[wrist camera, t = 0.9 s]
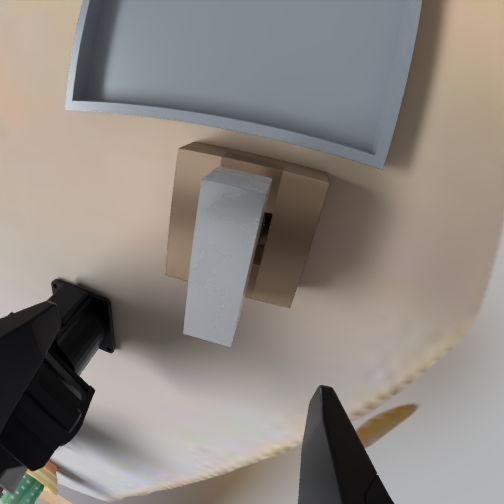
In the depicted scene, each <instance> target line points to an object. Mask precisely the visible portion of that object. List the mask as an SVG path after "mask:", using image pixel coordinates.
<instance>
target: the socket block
mask: <svg viewBox="0 0 504 504" xmlns="http://www.w3.org/2000/svg"><path fill="white" fill-rule="evenodd" d="M218 166H220V167H225V168H230V169H234V170H239V171H243V172H247V173H252V174H256V175H260V176H264V177H269V178H272V182H271V187H270V191H269V195H268V200H267V204H266V208H265V212H266V213H270V214H273V215H272V219H271V223H270V227H269V231H268V235H267V240H266V244H265V246H261V245H257V247H256V251H255V256H254V260H253V264H252V268H251V273H250V277H249V281H248V285H247V290H246V294H245V297H247V298H251V299H255V300H259V301H263V302H267V303H271V304H275V305H279V306H283V307H287V308H290V307H291V304H292V301H293V298H294V295H295V292H296V289H297V286H298V283H299V280H300V277H301V274H302V271H303V268H304V265H305V262H306V258H307V255H308V252H309V249H310V246H311V243H312V239H313V236H314V233H315V230H316V226H317V223H318V220H319V217H320V213H321V210H322V206H323V203H324V200H325V196H326V193H327V189H328V186H329V180H328V176H327V173H326V172H323V171H320V170H316V169H312V168H308V167H305V166H301V165H297V164H293V163H289V162H285V161H281V160H277V159H273V158H268V157H264V156H260V155H255V154H251V153H246V152H242V151H237V150H232V149H228V148H223V147H218V146H213V145H208V144H202V143H197V142H192V143H190V144H188V145H185V146H183V147H181V148H178V155H177V163H176V170H175V178H174V187H173V195H172V205H171V214H170V225H169V236H168V247H167V260H166V275H167V276H171V277H174V278H178V279H181V280H185V281H188V279H189V270H190V262H191V253H192V245H193V237H194V230H195V222H196V215H197V208H198V201H199V194H200V187H201V181H202V179H203V178H204V177H205V176H207V175H208V174H209V173H210V172H212V171H213V170H214V169H215V168H217V167H218Z"/></svg>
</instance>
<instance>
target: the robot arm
mask: <svg viewBox="0 0 504 504" xmlns="http://www.w3.org/2000/svg"><path fill="white" fill-rule="evenodd" d="M51 285H52V291H53V295H52V296H51V297H50V298H49V299H48V300H47V301H44V302H42V303H39V304H37V305H34V306H31V307H29V308H26V309H24V310H21V311H19V312H16V313H13V312H11V313H10V314H9V315H8V316H6V317H3V318H1V319H0V479H1V478H2V476H3V475H4V474H5V473H6V471H7V470H12V469H16V468H21V467H26V468H28V469H29V470H30V471H36V470H38V469H41V468H43V467H44V466H45V465H46V463H47V462H48V460H49V459H50V457H51V456H52V454H53V453H54V451H55V450H56V449H57V448H58V447H59V446H63V445H65V444H67V443H68V442H69V441H70V440H71V439H72V438H73V437H74V436H75V435H76V434H77V432H78V431H79V429H80V427H81V426H82V423H83V421H84V418H85V415H86V413H87V410H88V408H89V405H90V402H91V400H92V397H93V395H94V392H95V389H94V388H93V387H92V386H89V385H88V384H87V383H86V382H85V381H84V380H83V379H82V378H81V377H80V376H79V375H80V374H81V372H82V371H83V370H84V368H85V367H86V365H87V364H88V363H89V361H90V360H91V358H92V357H93V356H94V354H95V353H96V351H97V350H98V349H101V350H104V351H106V352H109V353H113V352H114V350H115V342H114V333H113V324H112V313H111V303H110V301H109V300H108V299H107V298H105V297H102V296H99V295H96V294H94V293H91V292H88V291H86V290H83V289H80V288H78V287H75V286H73V285H70V284H67V283H65V282H62V281H60V280H57V279H55V280H53V281H52V283H51ZM104 303H105V304H104ZM376 474H377V472H376V470H375V468H374V466H373V464H372V462H371V460H370V458H369V456H368V454H367V453H366V451H365V449H364V447H363V445H362V443H361V441H360V439H359V437H358V435H357V433H356V431H355V429H354V427H353V425H352V424H351V422H350V420H349V418H348V416H347V414H346V412H345V410H344V408H343V406H342V404H341V402H340V401H339V399H338V397H337V395H336V393H335V391H334V389H333V388H332V387H329V386H324V385H320V386H319V387H318V388H317V390H316V392H315V393H314V395H313V397H312V399H311V401H310V404H309V409H308V415H307V421H306V426H305V432H304V438H303V443H302V452H301V468H300V483H299V496H298V497H299V498H298V504H394V502H393V501H392V499H391V498H390V496H389V495H388V492H387V491H386V489H385V487H384V485H383V483H382V481H381V480H380V478H379V476H378V475H376Z"/></svg>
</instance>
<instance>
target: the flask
mask: <svg viewBox="0 0 504 504" xmlns="http://www.w3.org/2000/svg"><path fill="white" fill-rule="evenodd" d="M27 470H28V468H26V467H21V468H16V469H12V470H7V471H6V473H5V474H4V475H3V476H2V478H1V479H0V498H1V497H2V496H3V493H2V491H3V489H4V490H6V491H7V492H8V493H10V494H14V492H15V491H16V489H17V487H18V485H19V483H20V482H21V480H22V478H23V476H24V475H25V473H26V471H27Z"/></svg>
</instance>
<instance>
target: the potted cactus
mask: <svg viewBox="0 0 504 504" xmlns="http://www.w3.org/2000/svg"><path fill="white" fill-rule="evenodd" d="M57 470H58V468H57V467H56V466H55V465H54V464H53V463H52V462H50V461H49V460H48V462H47V463H46V465H45V466H44V467H43V468H41V469H38V470H36V471H30V470H29V469H28V470H27V471H26V473H25V476H24V477H23V478H22V480H21V482H20V483H19V485H18V487H17V489H16V491H15V492H14V494H10V493H8V492H7V491H6V492H5V494H4V495H3V496H2V498H1V499H0V503H1V504H34V503H35V501H36V499H37V498H38V497H39V495H40V494H41V492H42V491H43V489H45V490H47V491H48V492H50V493H52V494H55V495H57V494H58V490H57V475H56V471H57Z"/></svg>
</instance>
